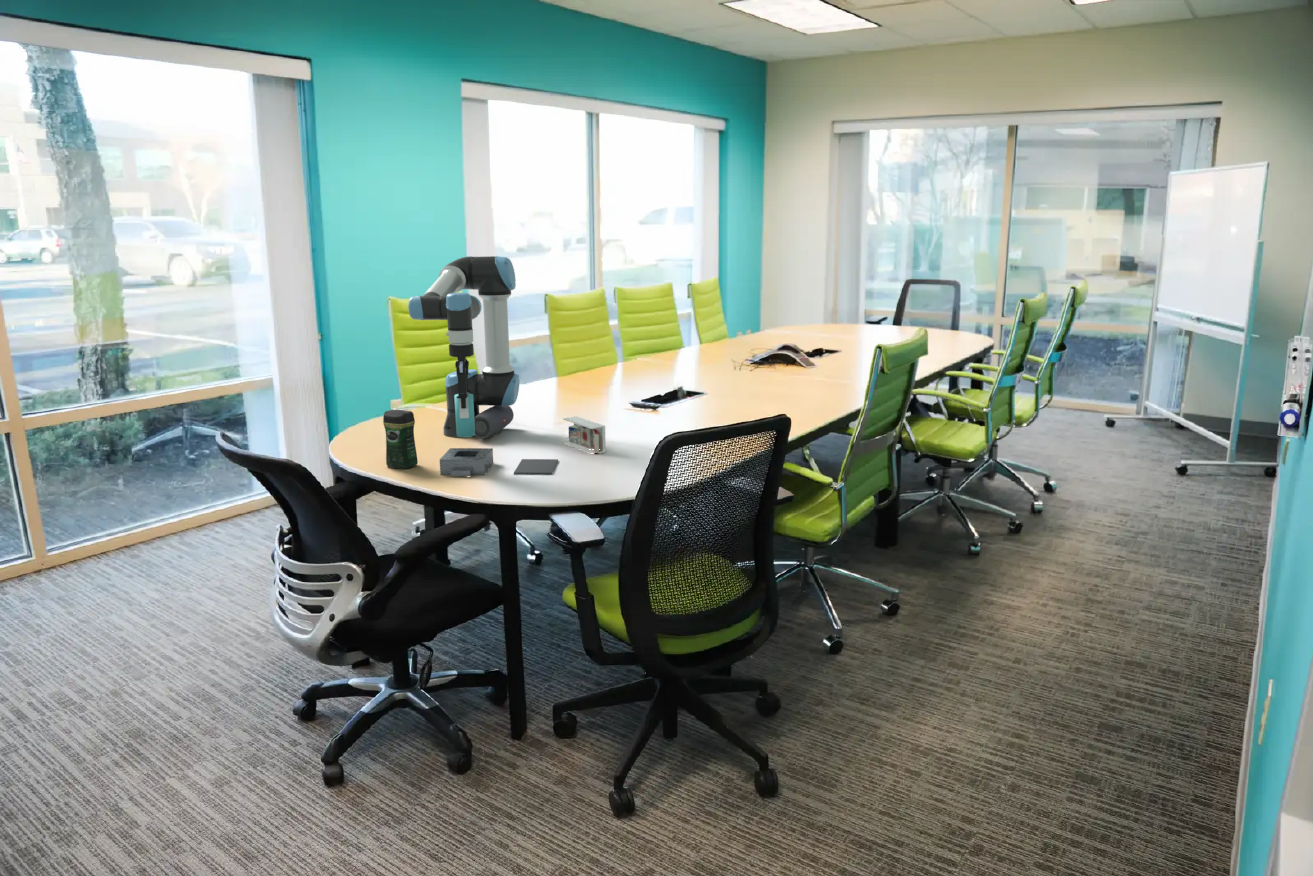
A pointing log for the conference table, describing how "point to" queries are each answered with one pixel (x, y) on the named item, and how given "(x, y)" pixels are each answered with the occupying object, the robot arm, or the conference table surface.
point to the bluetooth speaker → (492, 421)
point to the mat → (536, 466)
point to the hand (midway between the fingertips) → (464, 415)
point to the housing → (466, 461)
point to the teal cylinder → (465, 425)
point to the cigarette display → (586, 435)
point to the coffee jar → (400, 439)
